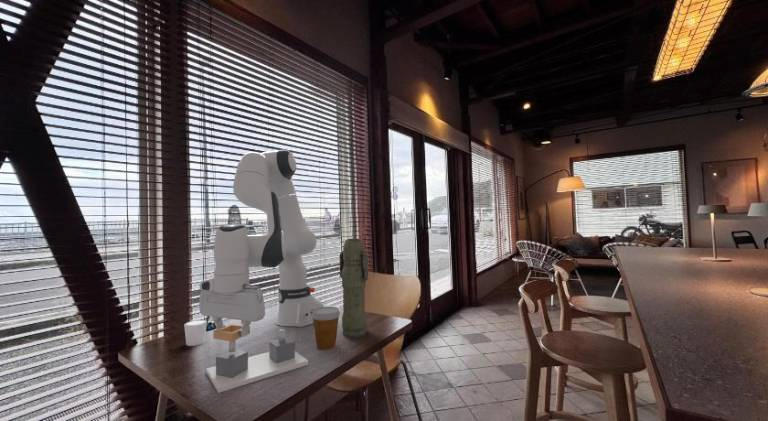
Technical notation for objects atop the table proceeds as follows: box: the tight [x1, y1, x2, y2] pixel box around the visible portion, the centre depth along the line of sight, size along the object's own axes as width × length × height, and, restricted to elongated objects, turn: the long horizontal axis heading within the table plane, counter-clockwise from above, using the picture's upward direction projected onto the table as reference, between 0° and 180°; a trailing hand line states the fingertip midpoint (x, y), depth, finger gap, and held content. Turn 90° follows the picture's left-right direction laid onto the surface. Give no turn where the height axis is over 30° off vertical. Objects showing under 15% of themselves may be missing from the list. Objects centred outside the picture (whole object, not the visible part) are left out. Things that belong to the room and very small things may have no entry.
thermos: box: [339, 238, 369, 339], centre depth 122 cm, size 9×12×35 cm
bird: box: [205, 316, 216, 331], centre depth 131 cm, size 8×7×8 cm
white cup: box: [183, 319, 207, 347], centre depth 115 cm, size 7×7×7 cm
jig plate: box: [205, 328, 309, 394], centre depth 94 cm, size 24×14×10 cm, turn 129°
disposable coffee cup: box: [311, 306, 341, 351], centre depth 110 cm, size 10×10×12 cm
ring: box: [212, 323, 251, 342], centre depth 90 cm, size 6×6×2 cm
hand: (231, 334), depth 90 cm, fingers closed on ring, 6 cm apart
